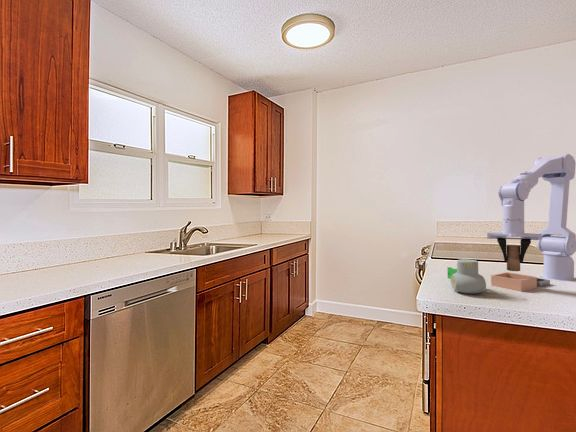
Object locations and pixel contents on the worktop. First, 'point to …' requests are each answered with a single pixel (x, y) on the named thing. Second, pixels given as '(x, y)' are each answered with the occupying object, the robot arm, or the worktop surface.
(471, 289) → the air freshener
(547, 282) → the metal socket
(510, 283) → the terracotta bin
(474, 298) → the worktop surface
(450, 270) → the pipe clamp
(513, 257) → the walnut strut
